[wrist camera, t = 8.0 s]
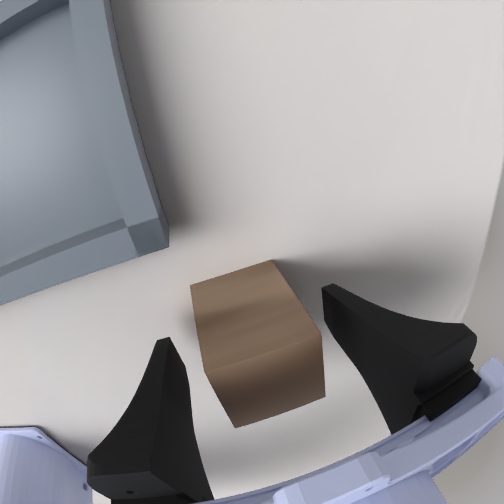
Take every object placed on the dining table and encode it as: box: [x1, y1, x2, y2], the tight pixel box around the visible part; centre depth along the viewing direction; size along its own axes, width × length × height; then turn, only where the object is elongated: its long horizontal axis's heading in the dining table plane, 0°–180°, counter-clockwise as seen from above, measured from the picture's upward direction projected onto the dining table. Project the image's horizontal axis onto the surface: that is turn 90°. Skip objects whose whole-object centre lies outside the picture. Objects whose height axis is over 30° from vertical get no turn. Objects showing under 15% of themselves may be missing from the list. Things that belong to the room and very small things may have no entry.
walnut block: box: [190, 260, 325, 428], centre depth 13 cm, size 4×4×6 cm
